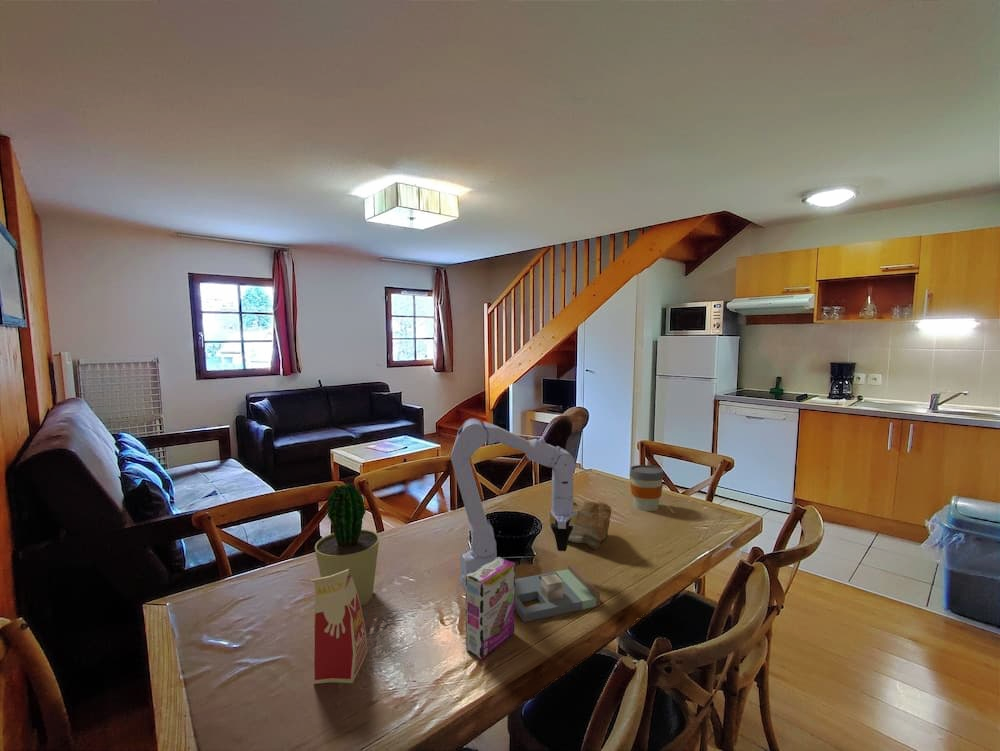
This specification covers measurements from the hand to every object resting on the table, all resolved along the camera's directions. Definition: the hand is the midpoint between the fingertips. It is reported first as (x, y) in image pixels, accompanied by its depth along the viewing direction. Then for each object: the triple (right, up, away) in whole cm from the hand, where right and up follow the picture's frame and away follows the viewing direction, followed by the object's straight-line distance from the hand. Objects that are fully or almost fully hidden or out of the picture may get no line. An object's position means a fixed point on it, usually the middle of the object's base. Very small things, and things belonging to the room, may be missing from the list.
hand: (562, 544), depth 121 cm
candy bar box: (-19, -12, -25) cm, 33 cm away
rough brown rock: (+12, -8, +25) cm, 29 cm away
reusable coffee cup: (+40, -6, +54) cm, 67 cm away
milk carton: (-49, -13, -32) cm, 60 cm away
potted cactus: (-55, -11, -8) cm, 57 cm away
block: (-4, -9, -11) cm, 14 cm away
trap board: (-4, -10, -8) cm, 14 cm away
